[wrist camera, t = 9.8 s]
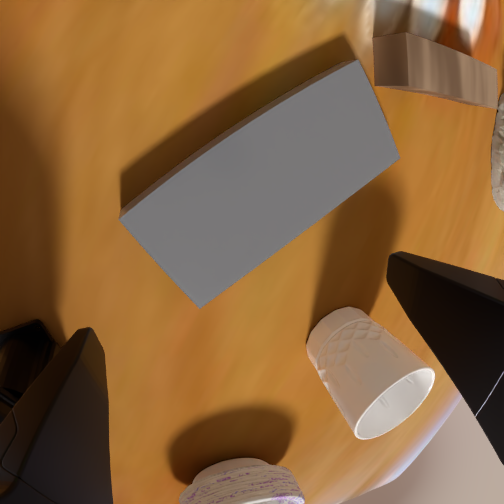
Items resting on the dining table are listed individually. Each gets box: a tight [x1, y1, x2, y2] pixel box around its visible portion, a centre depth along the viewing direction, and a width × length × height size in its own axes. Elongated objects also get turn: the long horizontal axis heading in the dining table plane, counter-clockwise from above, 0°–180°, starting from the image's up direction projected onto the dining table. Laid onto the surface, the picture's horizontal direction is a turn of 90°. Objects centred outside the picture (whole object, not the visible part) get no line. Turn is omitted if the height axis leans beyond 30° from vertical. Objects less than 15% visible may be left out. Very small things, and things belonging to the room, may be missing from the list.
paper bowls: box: [179, 458, 305, 504], centre depth 32 cm, size 15×15×8 cm
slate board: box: [119, 60, 400, 309], centre depth 20 cm, size 18×8×2 cm, turn 121°
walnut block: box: [373, 32, 498, 109], centre depth 20 cm, size 4×4×13 cm
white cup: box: [306, 307, 435, 439], centre depth 25 cm, size 8×8×10 cm
